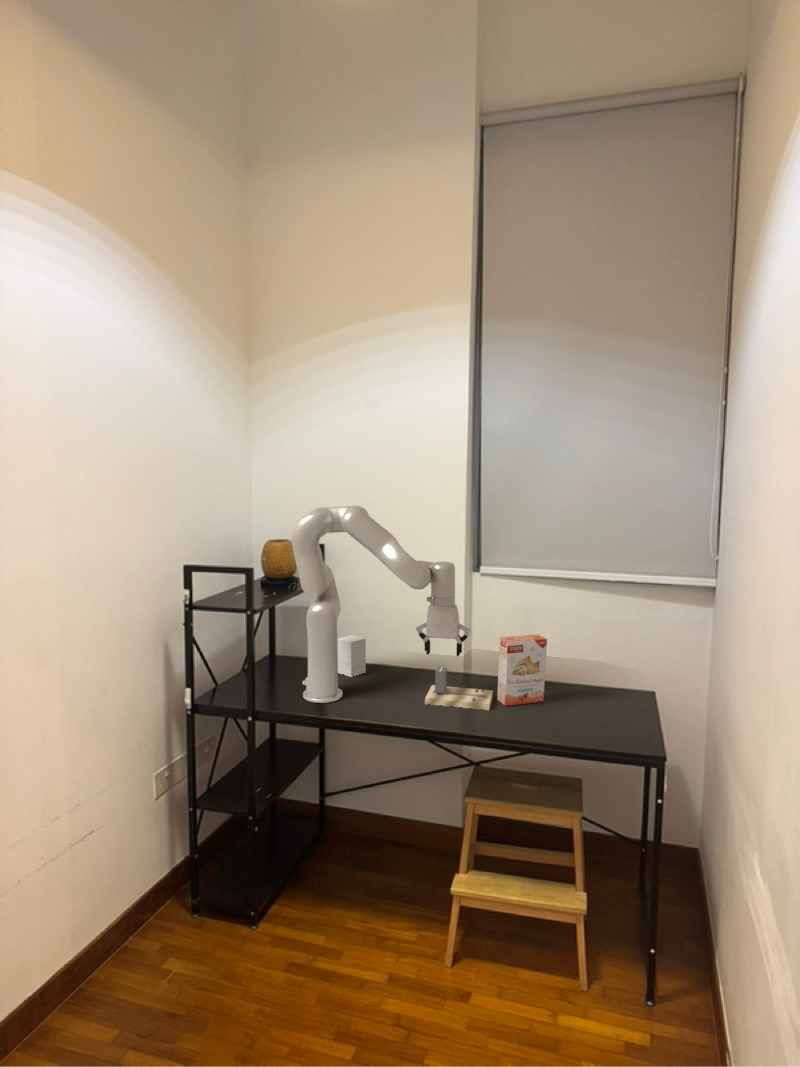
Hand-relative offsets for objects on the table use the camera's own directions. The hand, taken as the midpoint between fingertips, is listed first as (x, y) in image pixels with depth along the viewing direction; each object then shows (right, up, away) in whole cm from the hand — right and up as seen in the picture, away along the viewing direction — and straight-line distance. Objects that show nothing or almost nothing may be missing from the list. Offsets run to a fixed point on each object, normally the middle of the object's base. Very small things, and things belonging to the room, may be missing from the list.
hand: (443, 654), depth 218 cm
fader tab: (-1, -12, +2) cm, 12 cm away
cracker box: (+25, -15, 0) cm, 29 cm away
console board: (+5, -15, +1) cm, 16 cm away
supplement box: (-31, -11, +25) cm, 42 cm away
